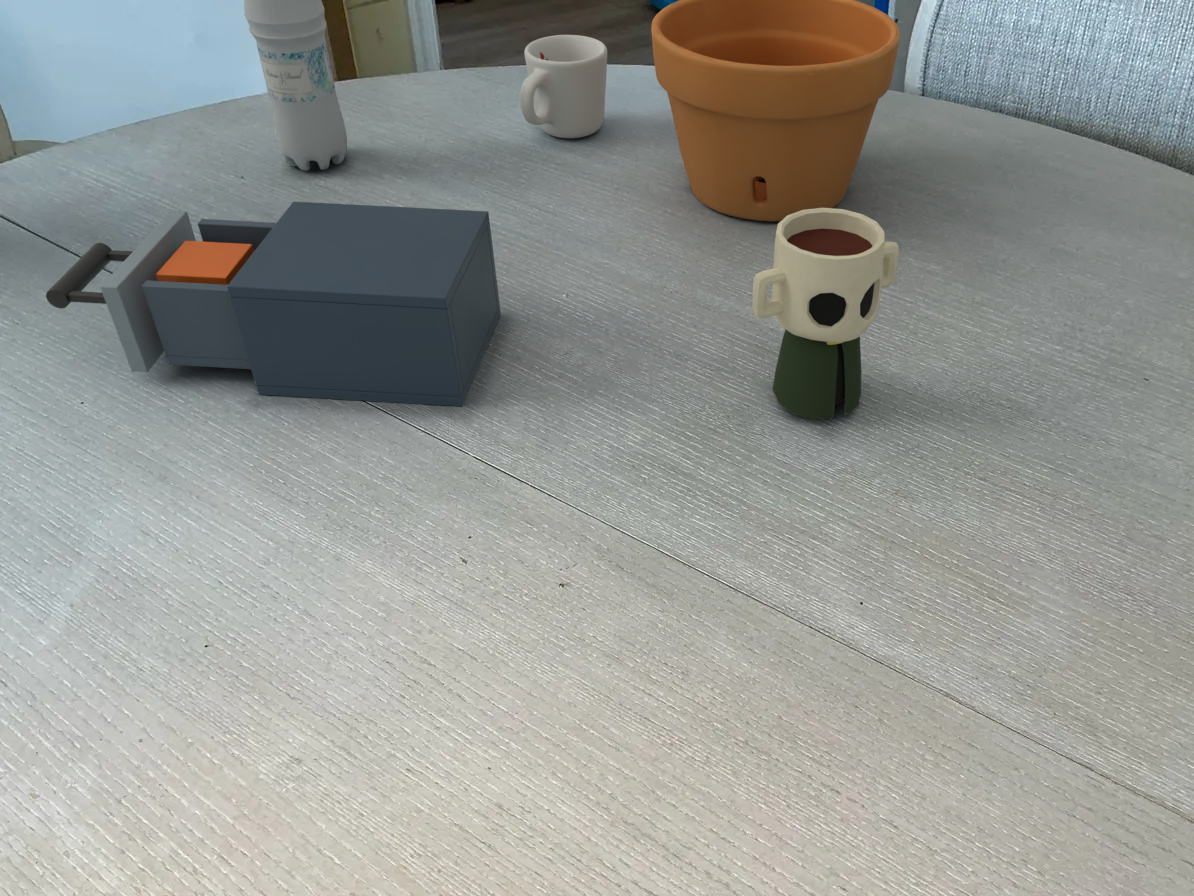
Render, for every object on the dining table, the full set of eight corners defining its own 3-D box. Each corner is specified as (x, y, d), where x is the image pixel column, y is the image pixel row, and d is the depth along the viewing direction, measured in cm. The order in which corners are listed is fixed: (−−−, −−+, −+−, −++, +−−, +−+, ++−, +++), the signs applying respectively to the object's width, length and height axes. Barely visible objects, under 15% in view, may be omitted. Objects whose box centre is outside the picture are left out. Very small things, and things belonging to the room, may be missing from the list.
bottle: (267, 171, 110) (209, -61, 97) (302, 143, 115) (252, -82, 102) (332, 180, 109) (283, -54, 96) (365, 151, 114) (323, -75, 101)
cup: (561, 162, 113) (555, 78, 107) (497, 143, 116) (487, 60, 110) (626, 125, 120) (623, 44, 114) (563, 108, 123) (558, 28, 117)
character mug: (773, 447, 79) (783, 274, 71) (725, 393, 84) (729, 224, 75) (908, 407, 83) (933, 238, 75) (854, 357, 88) (873, 193, 79)
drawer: (52, 367, 83) (16, 281, 79) (125, 287, 92) (96, 205, 87) (318, 382, 83) (297, 297, 78) (367, 300, 91) (350, 218, 87)
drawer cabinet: (258, 394, 83) (226, 286, 77) (317, 303, 92) (293, 201, 87) (462, 406, 82) (445, 298, 77) (501, 313, 92) (488, 210, 86)
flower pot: (663, 138, 117) (661, -20, 108) (874, 145, 117) (891, -13, 107) (644, 237, 102) (640, 62, 92) (888, 245, 101) (910, 71, 91)
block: (176, 336, 85) (155, 274, 81) (204, 300, 89) (185, 240, 85) (243, 340, 85) (225, 277, 81) (269, 304, 88) (252, 243, 85)
